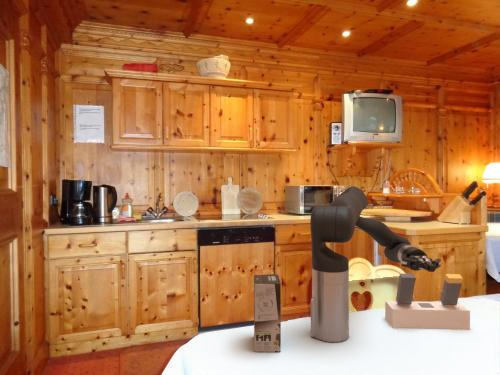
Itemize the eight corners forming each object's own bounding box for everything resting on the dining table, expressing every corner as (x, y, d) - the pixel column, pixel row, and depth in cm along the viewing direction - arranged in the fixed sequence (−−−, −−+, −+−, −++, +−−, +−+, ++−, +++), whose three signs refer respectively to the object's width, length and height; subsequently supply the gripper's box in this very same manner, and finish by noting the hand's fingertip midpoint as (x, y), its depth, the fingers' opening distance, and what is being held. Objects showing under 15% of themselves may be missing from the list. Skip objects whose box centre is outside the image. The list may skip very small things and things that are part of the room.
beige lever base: (392, 327, 100) (392, 308, 100) (385, 318, 107) (385, 300, 107) (469, 329, 98) (470, 310, 98) (457, 319, 105) (457, 301, 105)
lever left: (397, 305, 102) (401, 277, 99) (395, 300, 104) (399, 273, 101) (411, 305, 102) (415, 278, 99) (408, 300, 104) (413, 273, 100)
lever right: (442, 306, 101) (448, 278, 98) (440, 301, 103) (445, 273, 100) (456, 306, 101) (462, 278, 98) (453, 301, 103) (459, 274, 99)
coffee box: (281, 352, 86) (281, 283, 86) (253, 352, 86) (253, 283, 86) (279, 335, 95) (278, 273, 95) (254, 335, 96) (253, 273, 95)
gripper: (392, 246, 131) (409, 256, 113) (431, 246, 130) (454, 256, 112) (392, 267, 131) (409, 280, 113) (431, 268, 130) (454, 281, 112)
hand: (432, 268), depth 113 cm, fingers closed
